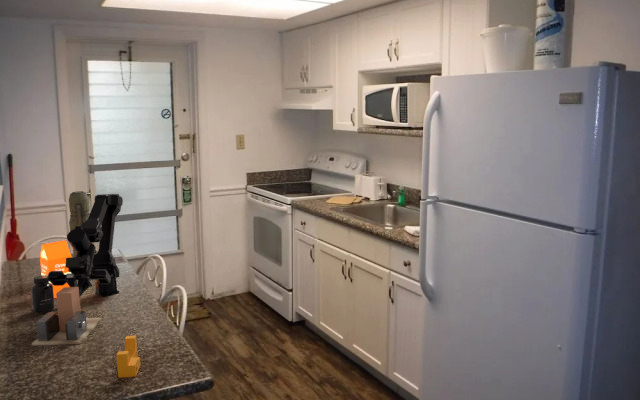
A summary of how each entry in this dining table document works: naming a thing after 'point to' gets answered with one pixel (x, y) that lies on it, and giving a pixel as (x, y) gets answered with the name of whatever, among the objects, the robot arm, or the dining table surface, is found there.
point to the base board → (61, 335)
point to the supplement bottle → (42, 295)
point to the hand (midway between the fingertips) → (74, 301)
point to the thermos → (78, 210)
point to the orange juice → (55, 260)
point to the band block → (50, 326)
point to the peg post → (67, 304)
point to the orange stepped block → (128, 358)
